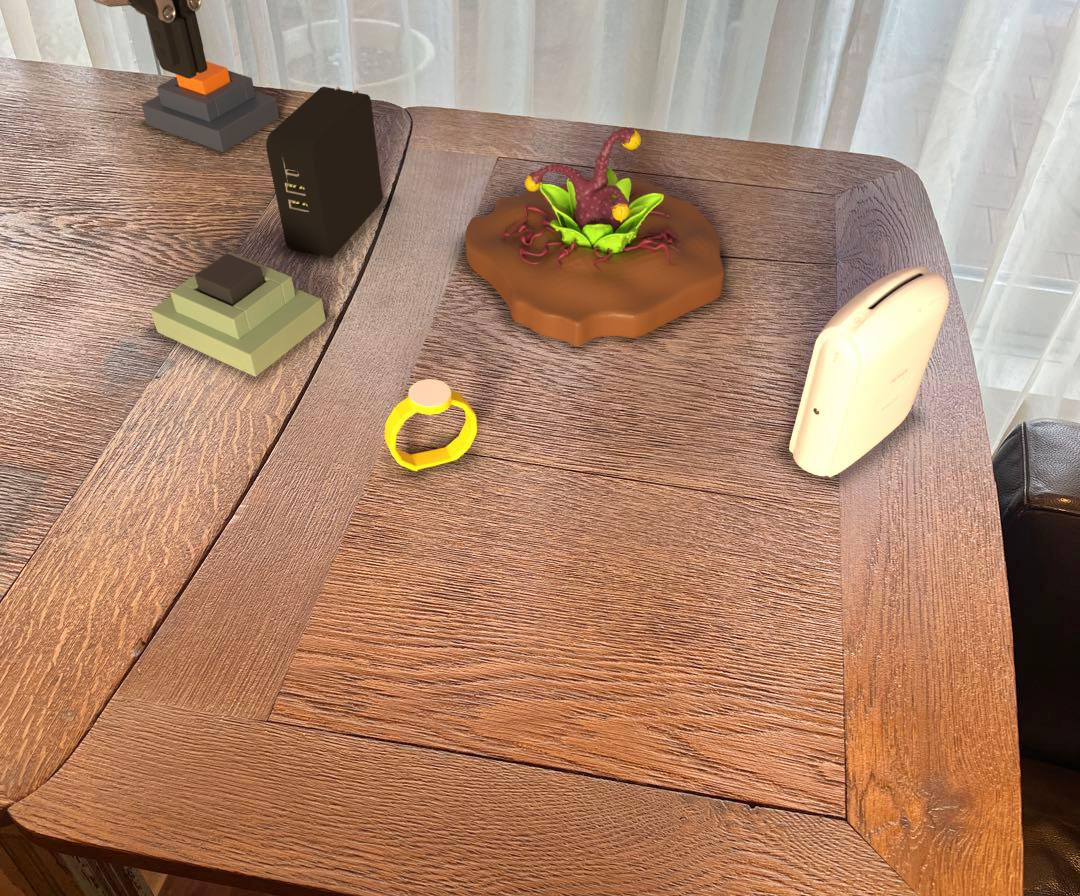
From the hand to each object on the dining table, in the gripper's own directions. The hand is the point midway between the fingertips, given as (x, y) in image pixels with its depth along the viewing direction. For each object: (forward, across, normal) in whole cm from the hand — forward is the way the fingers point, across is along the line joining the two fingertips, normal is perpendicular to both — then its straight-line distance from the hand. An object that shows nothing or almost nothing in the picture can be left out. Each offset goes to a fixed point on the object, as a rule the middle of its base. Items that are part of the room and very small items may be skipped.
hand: (184, 69), depth 74 cm
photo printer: (+15, -8, +51) cm, 54 cm away
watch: (+16, +10, +29) cm, 34 cm away
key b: (+12, -16, -18) cm, 27 cm away
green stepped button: (+15, +6, +8) cm, 18 cm away
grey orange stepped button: (+15, -16, -18) cm, 29 cm away
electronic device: (+16, -8, +4) cm, 18 cm away
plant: (+15, -16, +26) cm, 34 cm away
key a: (+12, +7, +8) cm, 16 cm away
